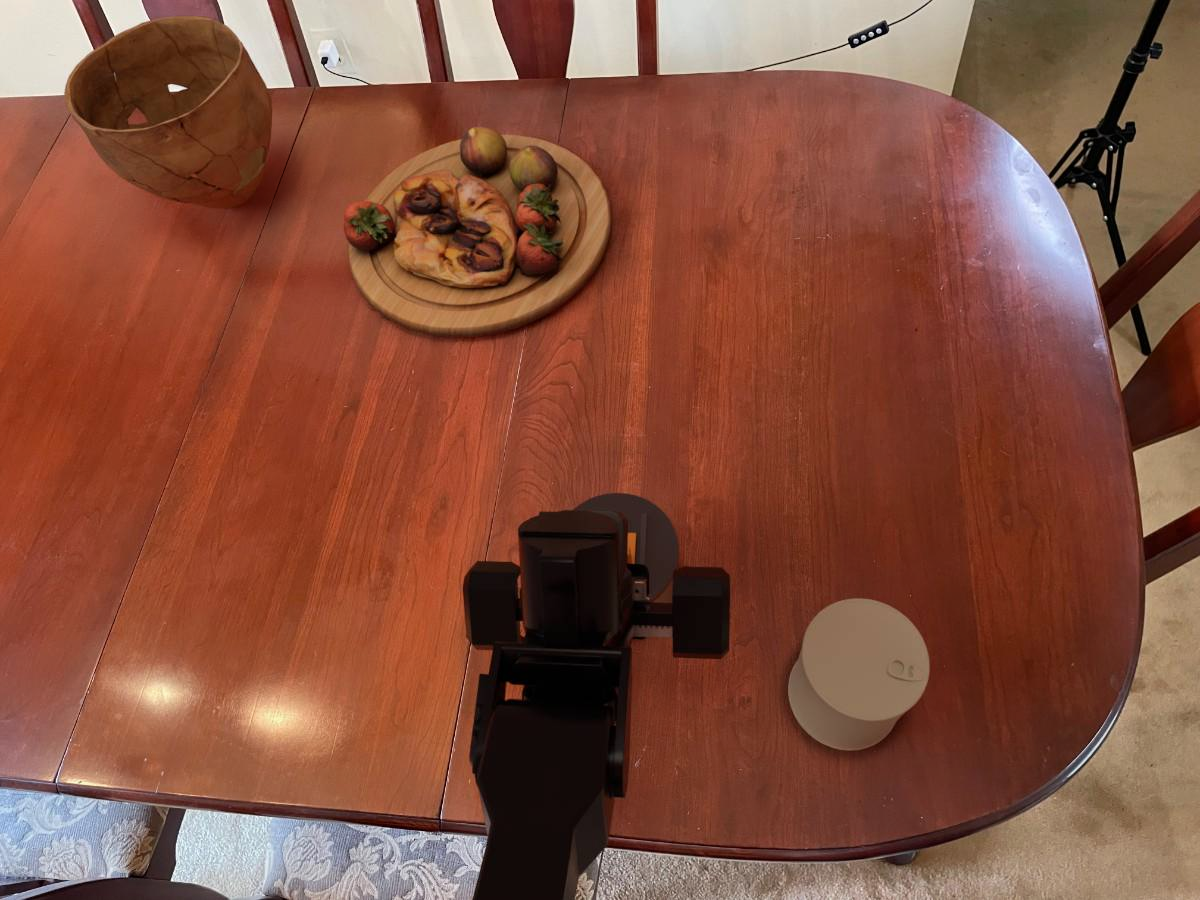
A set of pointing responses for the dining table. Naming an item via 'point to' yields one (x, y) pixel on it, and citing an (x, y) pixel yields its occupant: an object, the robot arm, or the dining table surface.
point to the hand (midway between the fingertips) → (610, 562)
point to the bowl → (176, 110)
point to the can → (857, 673)
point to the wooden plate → (478, 235)
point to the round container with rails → (646, 538)
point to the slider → (631, 548)
